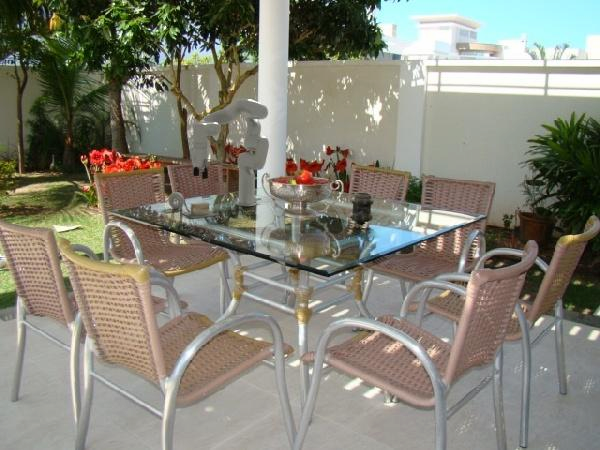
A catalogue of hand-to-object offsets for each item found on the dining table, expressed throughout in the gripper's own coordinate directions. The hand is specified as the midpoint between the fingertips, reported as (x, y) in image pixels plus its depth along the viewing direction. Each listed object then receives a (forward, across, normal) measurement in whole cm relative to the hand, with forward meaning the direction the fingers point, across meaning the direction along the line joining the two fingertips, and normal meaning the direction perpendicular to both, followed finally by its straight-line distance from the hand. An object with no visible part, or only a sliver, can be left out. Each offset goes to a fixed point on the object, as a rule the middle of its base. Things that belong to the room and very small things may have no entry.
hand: (200, 177), depth 305 cm
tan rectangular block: (+20, +2, -2) cm, 20 cm away
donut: (+21, -17, -6) cm, 28 cm away
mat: (+21, +2, -2) cm, 21 cm away
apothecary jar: (+21, +67, +58) cm, 91 cm away
